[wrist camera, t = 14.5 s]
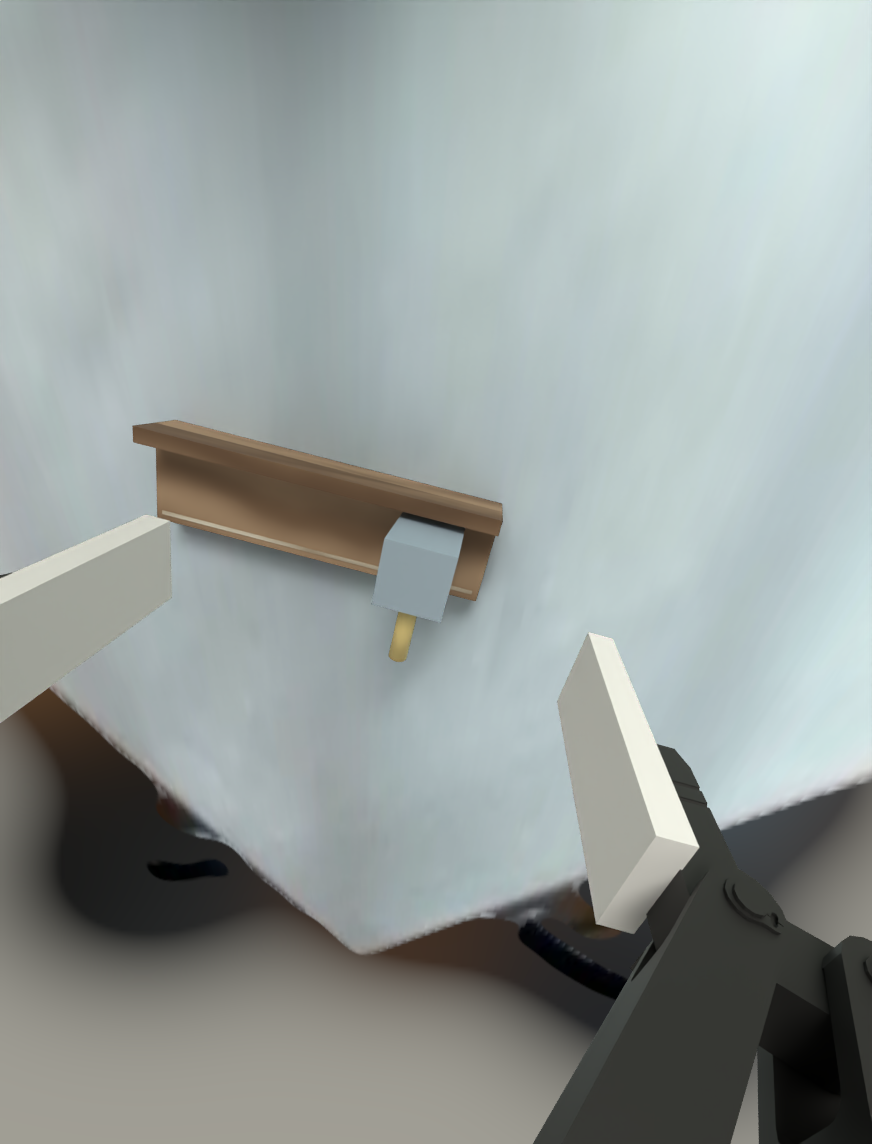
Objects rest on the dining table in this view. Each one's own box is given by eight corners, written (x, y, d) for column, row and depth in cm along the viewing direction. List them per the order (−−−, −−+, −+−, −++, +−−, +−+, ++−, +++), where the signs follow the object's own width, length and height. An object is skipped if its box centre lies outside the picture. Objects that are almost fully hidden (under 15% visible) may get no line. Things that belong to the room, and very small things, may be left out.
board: (175, 419, 39) (132, 425, 34) (502, 503, 38) (502, 521, 34) (176, 510, 42) (136, 526, 37) (476, 588, 41) (474, 615, 37)
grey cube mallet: (404, 510, 37) (384, 538, 30) (465, 526, 37) (458, 558, 30) (381, 617, 41) (359, 662, 34) (436, 632, 41) (425, 680, 34)
